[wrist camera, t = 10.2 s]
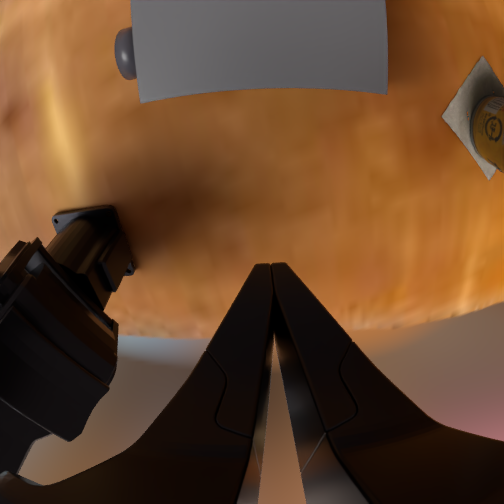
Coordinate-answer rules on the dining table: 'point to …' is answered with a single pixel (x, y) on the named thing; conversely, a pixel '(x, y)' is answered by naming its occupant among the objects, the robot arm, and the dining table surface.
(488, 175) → the condiment
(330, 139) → the dining table surface
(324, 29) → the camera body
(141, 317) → the dining table surface
